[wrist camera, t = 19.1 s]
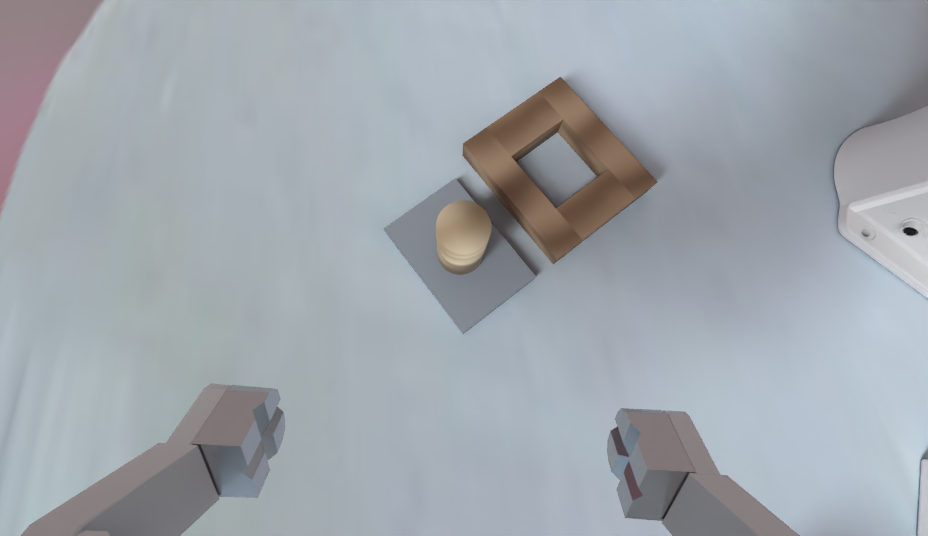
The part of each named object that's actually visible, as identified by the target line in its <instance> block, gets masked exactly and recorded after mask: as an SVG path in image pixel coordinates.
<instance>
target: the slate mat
mask: <svg viewBox="0 0 928 536" xmlns="http://www.w3.org/2000/svg"><path fill="white" fill-rule="evenodd" d="M461 200H465V201H471V202H474V203H475V201H474V200H473V199H472V198H471V197H470V195H469V194H468V193H467V192H466V191H465V189H464V188H463V187H462V186H461V184H460V183H459V182H458V181H457V180H456V178H455V179H454V180H452V181H451V182H450V183H448V184H447V185H445V186H444V187H442V188H441V189H440V190H438V191H437V192H435V193H434V194H432V195H431V196H430V197H428V198H427V199H425V200H424V201H422V202H421V203H420V204H418V205H417V206H415V207H414V208H412V209H411V210H410V211H408V212H407V213H405V214H404V215H402V216H401V217H400V218H398V219H397V220H395V221H394V222H392V223H391V224H390V225H388V226H387V227H385V228H384V231H385V232H386V234H387V235H388V236H389V238H390V239H391V240H392V241H393V243H394V244H395V245H396V247H397V248H398V249H399V251H400V252H401V253H402V255H403V256H404V257H405V258H406V260H407V261H408V262H409V264H410V265H411V266H412V268H413V269H414V270H415V272H416V273H417V274H418V276H419V277H420V278H421V279H422V281H423V282H424V283H425V285H426V286H427V287H428V289H429V290H430V291H431V293H432V294H433V295H434V296H435V298H436V299H437V300H438V302H439V303H440V304H441V306H442V307H443V308H444V310H445V311H446V312H447V314H448V315H449V316H450V317H451V319H452V320H453V321H454V323H455V324H456V325H457V327H458V328H459V329H460V331H461V332H462V333H463V334H464V333H465V332H466V331H468V330H469V329H470V328H472V327H473V326H474V325H475V324H477V323H478V322H479V321H481V320H482V319H483V318H484V317H486V316H487V315H488V314H490V313H491V312H492V311H493V310H495V309H496V308H497V307H499V306H500V305H501V304H502V303H504V302H505V301H506V300H508V299H509V298H510V297H511V296H513V295H514V294H515V293H517V292H518V291H519V290H520V289H522V288H523V287H524V286H526V285H527V284H528V283H530V282H531V281H532V280H533V279H535V277H536V276H535V275H534V273H533V272H532V271H531V270H530V269H529V267H528V266H527V265H526V264H525V262H524V261H523V260H522V259H521V258H520V256H519V255H518V254H517V253H516V251H515V250H514V249H513V248H512V247H511V245H510V244H509V243H508V242H507V241H506V239H505V238H504V237H503V236H502V234H501V233H500V232H499V231H498V230H497V228H496V227H495V226H494V225H493V223H492V222H491V234H490V237H489V240H488V243H487V246H486V249H485V252H484V255H483V258H482V261H481V263H480V265H479V266H478V267H477V268H476V269H475V270H474V271H472V272H470V273H468V274H464V275H457V274H453V273H450V272H449V271H447V270H446V269H445V268H443V266H442V265H441V263H440V262H439V259H438V254H437V238H436V221H437V218H438V215H439V213H440V212H441V211H442V209H443V208H444V207H446V206H447V205H448V204H450V203H452V202H455V201H461Z"/></svg>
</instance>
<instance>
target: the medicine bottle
mask: <svg viewBox="0 0 928 536" xmlns="http://www.w3.org/2000/svg"><path fill="white" fill-rule="evenodd" d="M917 536H928V459H923V460H922V461H921V475H920V493H919V512H918V531H917Z"/></svg>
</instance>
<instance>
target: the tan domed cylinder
mask: <svg viewBox="0 0 928 536" xmlns="http://www.w3.org/2000/svg"><path fill="white" fill-rule="evenodd" d="M490 234H491V220H490V217H489V215H488V214H487V212H486V211H485V210H484V209H483V208H482V207H481V206H480V205H478V204H476V203H474V202H471V201H465V200H461V201H455V202H452V203H450V204H448V205H447V206H446V207H444V208H443V209H442V211H441V212H440V213H439V215H438V218H437V221H436V238H437V254H438V259H439V262H440V263H441V265H442V266H443V268H445V269H446V270H447V271H449V272H450V273H453V274H457V275H464V274H468V273H470V272H472V271H474V270H475V269H476V268H477V267H478V266H479V265H480V263H481V261H482V258H483V255H484V252H485V249H486V246H487V243H488V240H489V237H490Z"/></svg>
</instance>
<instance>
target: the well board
mask: <svg viewBox="0 0 928 536" xmlns="http://www.w3.org/2000/svg"><path fill="white" fill-rule="evenodd" d="M557 132H558V133H559V134H560V135H561V136H562V137H563V138H564V140H565V141H566V142H567V143H568V144H569V145H570V146H571V147H572V148H573V150H574V151H575V152H576V153H577V154H578V155H579V156H580V157H581V159H582V160H583V161H584V162H585V163H586V164H587V165H588V166H589V167H590V169H591V170H592V171H593V172H594V173H595V174H596V175H597V176H598V177H597V178H596V179H595V180H593V181H592V182H591V183H589V184H588V185H587V186H585V187H584V188H583V189H581V190H580V191H579V192H577V193H576V194H575V195H573V196H572V197H571V198H569V199H568V200H567V201H565V202H564V203H563V204H561V205H560V206H559V207H557V208H555V207H554V206H553V205H552V203H551V202H550V201H549V200H548V199H547V198H546V196H545V195H544V194H543V193H542V192H541V191H540V189H539V188H538V187H537V186H536V185H535V184H534V182H533V181H532V180H531V179H530V178H529V177H528V175H527V174H526V173H525V172H524V171H523V170H522V168H521V167H520V166H519V165H518V164H517V163H516V161H518V160H519V159H521V158H522V157H523V156H525V155H526V154H528V153H529V152H530V151H532V150H533V149H535V148H536V147H537V146H539V145H540V144H542V143H543V142H544V141H546V140H547V139H549V138H550V137H551V136H553V135H554V134H556V133H557ZM463 156H464V158H465V159H466V160H467V161H468V162H469V164H470V165H471V166H472V167H473V168H474V170H475V171H476V172H477V173H478V174H479V176H480V177H481V178H482V179H483V180H484V182H485V183H486V184H487V185H488V186H489V188H490V189H491V190H492V191H493V192H494V194H495V195H496V196H497V197H498V198H499V200H500V201H501V202H502V203H503V204H504V206H505V207H506V208H507V209H508V210H509V212H510V213H511V214H512V215H513V216H514V218H515V219H516V220H517V221H518V222H519V224H520V225H521V226H522V227H523V228H524V230H525V231H526V232H527V233H528V234H529V236H530V237H531V238H532V239H533V240H534V242H535V243H536V244H537V245H538V246H539V248H540V249H541V250H542V251H543V252H544V254H545V255H546V256H547V257H548V258H549V260H550V261H551V262H552V263H553V264H554V263H555V262H557V261H558V260H559V259H560V258H562V257H563V256H564V255H566V254H567V253H568V252H569V251H571V250H572V249H573V248H575V247H576V246H577V245H578V244H580V243H581V242H582V241H584V240H585V239H586V238H588V237H589V236H590V235H591V234H593V233H594V232H595V231H597V230H598V229H599V228H600V227H602V226H603V225H604V224H606V223H607V222H608V221H609V220H611V219H612V218H613V217H615V216H616V215H617V214H618V213H620V212H621V211H622V210H624V209H625V208H626V207H627V206H629V205H630V204H631V203H633V202H634V201H635V200H637V199H638V198H639V197H640V196H642V195H643V194H644V193H646V192H647V191H648V190H649V189H650V188H651V187H652V186H653V185H654V184H655V183H657V181H656V180H655V179H654V178H653V177H652V176H651V175H650V173H649V172H648V171H647V170H646V169H645V168H644V167H643V166H642V165H641V164H640V163H639V162H638V160H637V159H636V158H635V157H634V156H633V155H632V154H631V153H630V152H629V151H628V150H627V149H626V147H625V146H624V145H623V144H622V143H621V142H620V141H619V140H618V139H617V138H616V137H615V136H614V134H613V133H612V132H611V131H610V130H609V129H608V128H607V127H606V126H605V125H604V124H603V122H602V121H601V120H600V119H599V118H598V117H597V116H596V115H595V114H594V113H593V112H592V111H591V109H590V108H589V107H588V106H587V105H586V104H585V103H584V102H583V101H582V100H581V99H580V98H579V96H578V95H577V94H576V93H575V92H574V91H573V90H572V89H571V88H570V87H569V86H568V85H567V83H566V82H565V81H564V80H563V79H562V78H561V77H559V78H558V79H557V80H555V81H554V82H552V83H551V84H549V85H548V86H546V87H545V88H543V89H542V90H541V91H539V92H538V93H536V94H535V95H533V96H532V97H530V98H529V99H527V100H526V101H525V102H523V103H522V104H520V105H519V106H517V107H516V108H514V109H513V110H511V111H510V112H508V113H507V114H506V115H504V116H503V117H501V118H500V119H498V120H497V121H495V122H494V123H492V124H491V125H490V126H488V127H487V128H485V129H484V130H482V131H481V132H479V133H478V134H476V135H475V136H474V137H472V138H471V139H469V140H468V141H466V142H465V143H463Z"/></svg>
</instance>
